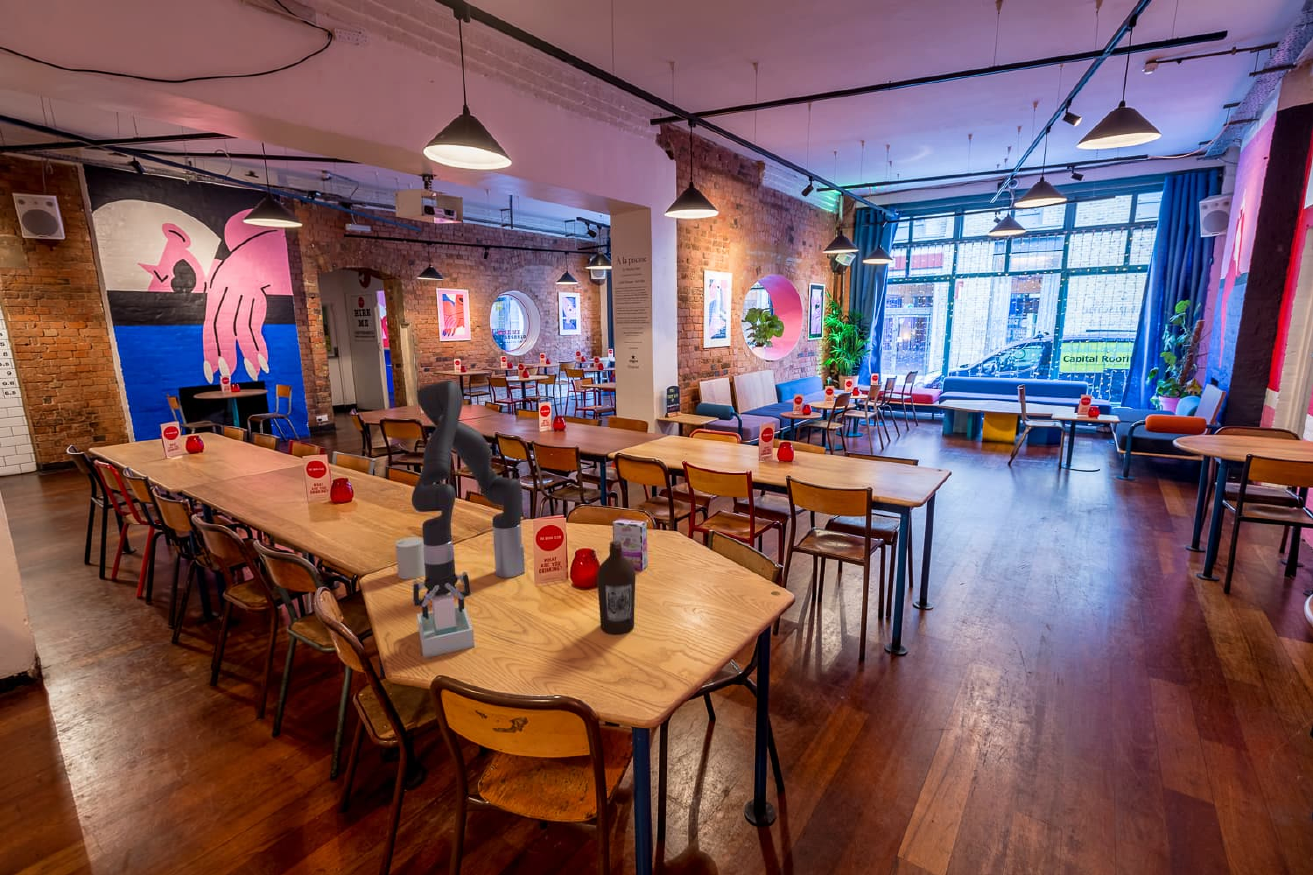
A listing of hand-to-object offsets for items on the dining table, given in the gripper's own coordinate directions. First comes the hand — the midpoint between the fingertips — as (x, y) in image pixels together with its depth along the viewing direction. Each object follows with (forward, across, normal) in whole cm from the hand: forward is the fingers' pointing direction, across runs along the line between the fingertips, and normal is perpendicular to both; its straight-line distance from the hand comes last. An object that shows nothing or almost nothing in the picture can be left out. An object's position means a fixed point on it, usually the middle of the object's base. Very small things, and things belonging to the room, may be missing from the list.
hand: (443, 614), depth 161 cm
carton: (+6, 0, 0) cm, 6 cm away
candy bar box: (+7, -64, -22) cm, 68 cm away
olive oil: (+7, -44, +15) cm, 47 cm away
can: (+7, +5, -50) cm, 51 cm away
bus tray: (+7, 0, 0) cm, 7 cm away
